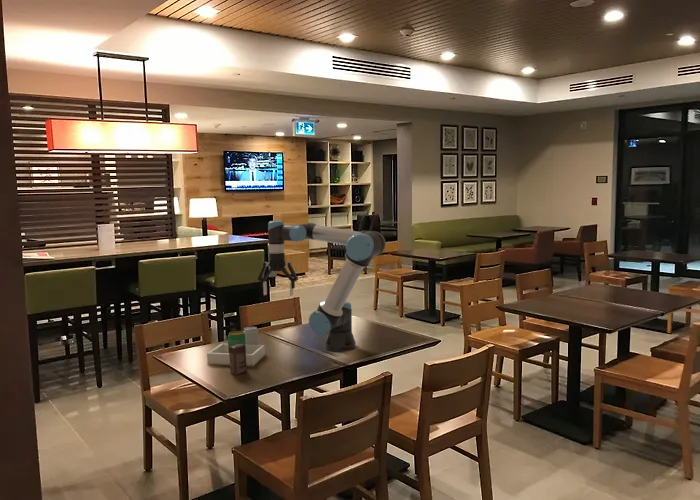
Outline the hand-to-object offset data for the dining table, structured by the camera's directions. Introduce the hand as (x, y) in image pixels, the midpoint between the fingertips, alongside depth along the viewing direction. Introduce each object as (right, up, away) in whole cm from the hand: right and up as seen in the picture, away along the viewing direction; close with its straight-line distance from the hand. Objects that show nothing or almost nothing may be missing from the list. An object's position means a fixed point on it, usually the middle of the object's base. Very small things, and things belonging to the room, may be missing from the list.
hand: (278, 294), depth 279 cm
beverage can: (-17, -28, -15) cm, 37 cm away
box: (-13, -31, -34) cm, 48 cm away
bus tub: (-17, -29, -15) cm, 37 cm away
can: (-13, -28, -4) cm, 31 cm away
